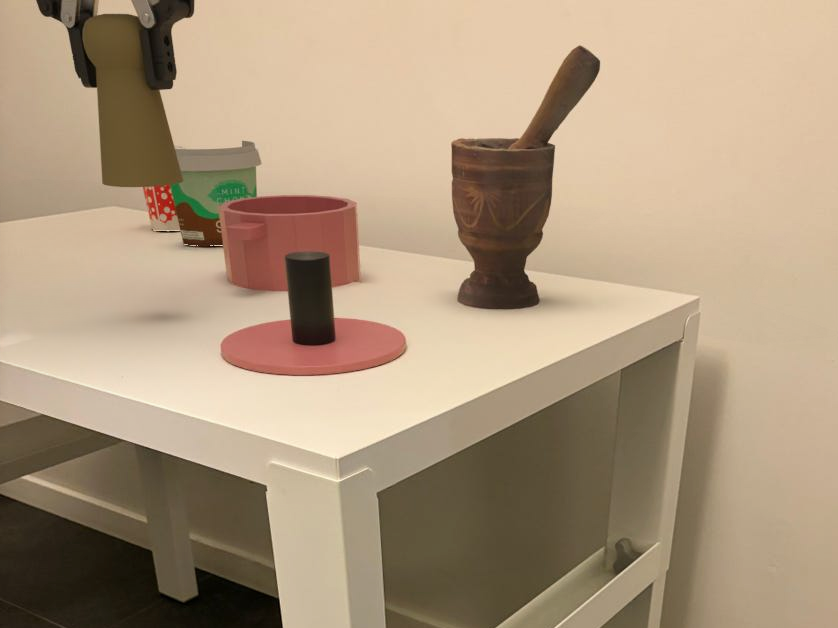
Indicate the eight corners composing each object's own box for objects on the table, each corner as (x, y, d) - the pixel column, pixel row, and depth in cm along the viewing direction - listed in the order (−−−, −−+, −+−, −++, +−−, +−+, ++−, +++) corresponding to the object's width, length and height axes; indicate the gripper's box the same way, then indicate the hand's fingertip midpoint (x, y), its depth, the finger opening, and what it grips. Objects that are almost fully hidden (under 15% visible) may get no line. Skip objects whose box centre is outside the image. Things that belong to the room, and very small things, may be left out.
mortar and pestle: (551, 289, 94) (562, 44, 83) (596, 309, 87) (613, 45, 76) (438, 299, 90) (434, 44, 79) (475, 321, 83) (476, 45, 72)
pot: (186, 296, 90) (174, 214, 87) (284, 260, 105) (277, 188, 101) (308, 308, 87) (300, 223, 83) (392, 269, 101) (389, 195, 97)
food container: (208, 253, 108) (195, 152, 102) (173, 247, 111) (158, 148, 106) (291, 237, 116) (282, 143, 111) (255, 232, 119) (245, 140, 114)
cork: (105, 188, 73) (73, 12, 67) (99, 179, 78) (69, 14, 72) (188, 185, 75) (164, 13, 69) (178, 175, 80) (155, 14, 74)
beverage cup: (206, 226, 123) (189, 98, 115) (179, 234, 118) (159, 101, 110) (163, 223, 124) (144, 97, 117) (135, 231, 119) (113, 100, 112)
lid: (185, 371, 71) (168, 266, 67) (281, 326, 82) (272, 233, 78) (357, 392, 67) (350, 282, 63) (434, 342, 78) (432, 245, 74)
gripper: (-51, -215, 63) (14, 88, 72) (137, -231, 59) (181, 93, 68) (32, -193, 69) (82, 84, 78) (207, -206, 65) (239, 88, 74)
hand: (128, 87), depth 73 cm, fingers closed on cork, 5 cm apart
